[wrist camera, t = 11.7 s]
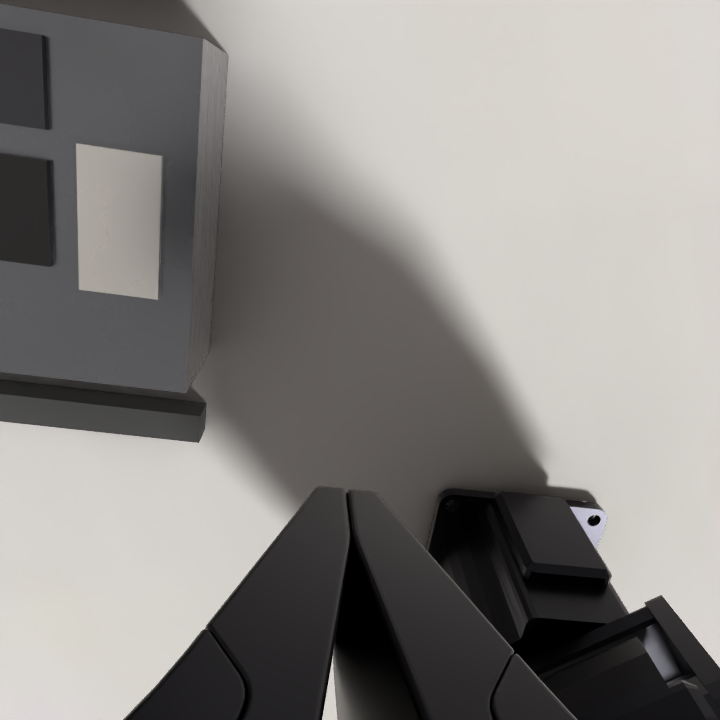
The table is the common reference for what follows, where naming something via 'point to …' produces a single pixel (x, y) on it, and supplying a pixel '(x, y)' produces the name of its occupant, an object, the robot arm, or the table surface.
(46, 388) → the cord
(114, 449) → the table surface
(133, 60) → the strip
